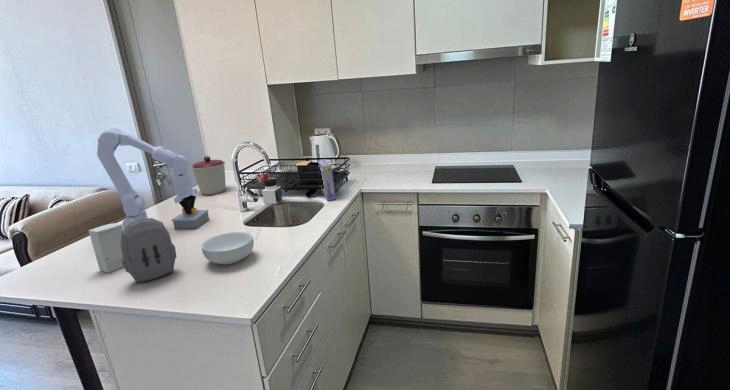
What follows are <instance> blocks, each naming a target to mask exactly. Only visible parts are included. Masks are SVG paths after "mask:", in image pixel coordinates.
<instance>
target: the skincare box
mask: <svg viewBox="0 0 730 390" xmlns="http://www.w3.org/2000/svg"><path fill="white" fill-rule="evenodd" d="M123 230H124V229H123V225H122V223H115V222H111V223H108V224H104V225H101V226H98V227H95V228H92V229H89V230H88V233H89V237H90V241H91V244H92V247H93V250H94V254H95V258H96V262H97V266H98V268H99V271H101V272H104V273H106V274H110V273H112V272H114V271H117V270H119V269H121V268H123V267H124V266H123V265H122V260H121V258H122V257H123V254H122V250H121V236H122V233H121V232H122V231H123ZM124 268H125V267H124Z"/></svg>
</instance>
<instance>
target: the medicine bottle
mask: <svg viewBox="0 0 730 390" xmlns="http://www.w3.org/2000/svg"><path fill="white" fill-rule="evenodd" d="M264 185H265V189H263V190H262V195H263V196H262V195H261V196H262V201H263V204H264V203H266V204H267V205H277V204H279V203H280V202H281V201H282V200H283V193H282V187H281V185H279V186H278V183H277V179H276V178H275V177H270V178H268V179H265V180H264ZM266 204H265V205H266Z"/></svg>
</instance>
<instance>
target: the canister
mask: <svg viewBox="0 0 730 390" xmlns="http://www.w3.org/2000/svg"><path fill="white" fill-rule="evenodd" d="M225 164H226V161H223V160H222V159H211V157H210V156H209V155H207V156H206V155H205V156H204V157H203V160H202V161H198V162H195V163H193V164H192V165H191V166H190V169H192V171H193V175H194V177H195V181H196V184H197V186H198V189H199V191H200V193H201V194H202V195H205V196H206V195H207V196H213V195H217V194H220V193H221V194H222V192H224V191H225V190H226V186H227V185H226V183H227V182H226V170H225V169H226V167H225Z"/></svg>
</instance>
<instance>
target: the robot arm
mask: <svg viewBox="0 0 730 390" xmlns="http://www.w3.org/2000/svg"><path fill="white" fill-rule="evenodd" d="M119 146H120V147H123V146H132V147H133V148H136V149H138V150H141V151H142V152H146V153H148V154H150V156H151V158H152V159H154V160H156V161H159V162H161V163H162V164H165V165H167V166H170V168H171V169H172V170H173V176H174V179H175V180H174V181H175V184H176V189H177V195H176V196H175V197H174V198H173V199H174V203H175V204H179V205H180V206H181V207H182V209H184V211H185V213H186V214H192V210H191V208H195V203H196V199H197V196H196V194H198V189H197V188H193V187H192V181H191V177H190V173H189V169H188V166H187V165H188V161H187V158H186V157H185V156H184V155H182V154H181V153H180V154H179V153H178V152H173V151H171V150H169V149H167V147H166V146H164V145H162V146H161V145H158V146H154V145H151V144H150V143H148V142H146V141H144V140H142V139H140V138H139V137H136V136H134V135H132V134H130V133H127V132H126V131H121V129H118V128H110V129H109V130H104V131H103V132H101V134H100V135H99V136H98V138H97V152H96V155H97V158H98V160H99V161H100V163H101V165H102V166H103V169H105V172H106V173H107V175H108V177H109V178H110V180H111V182H112V184H113V185H114V187H115V189H116V190H117V192H118V194H119V195H120V201H121V203H122V208H123V212H124V214H125V215H126V217H125V219H124V220H122V222H121V224H122V227H123V230H124V229H125V228H126V226H127V225H128V224H129V223H131V222H134V221H136V220H138V219H141V218H148V214H147V211H146V209H144V207H145V204H146V203H145V199H144V198H142V197H141V196H140V195H139V194H138V192H137V191H136V190H134V189H133V187H132V185H131V183H130V182H129V180H128V178H127V176H126V174H125V172H124V171H123V169H122V167H121V165H120V164H119V162H118V160H117V159H116V156H115V152H116V150H117V148H118V147H119Z"/></svg>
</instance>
